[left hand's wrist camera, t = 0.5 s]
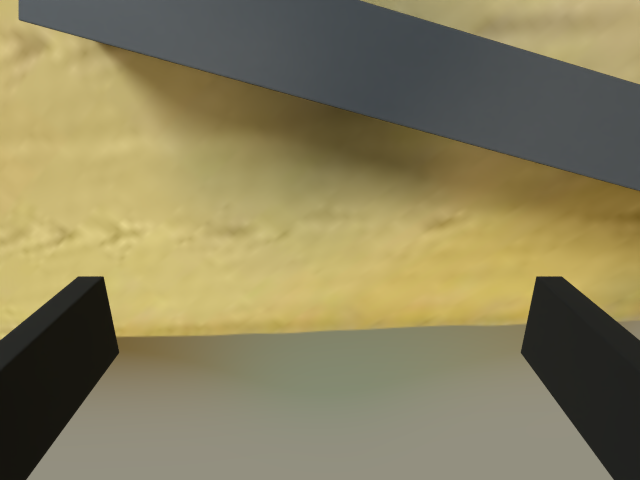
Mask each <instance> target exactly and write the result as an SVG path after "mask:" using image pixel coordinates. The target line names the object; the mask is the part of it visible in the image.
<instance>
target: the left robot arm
mask: <svg viewBox="0 0 640 480" xmlns="http://www.w3.org/2000/svg"><path fill="white" fill-rule="evenodd" d="M118 354H119V349H118V345H117V340H116V335H115V330H114V325H113V320H112V315H111V311H110V306H109V301H108V296H107V291H106V286H105V281H104V277H77V278H76V279H75V280H73V281H72V282H71V283H70V284H69V285H67V286H66V287H65V288H64V289H62V290H61V291H60V292H59V293H58V294H56V295H55V296H54V297H53V298H52V299H50V300H49V301H48V302H47V303H45V304H44V305H43V306H42V307H41V308H39V309H38V310H37V311H36V312H34V313H33V314H32V315H31V316H30V317H28V318H27V319H26V320H25V321H23V322H22V323H21V324H20V325H19V326H17V327H16V328H15V329H14V330H12V331H11V332H10V333H9V334H8V335H6V336H5V337H4V338H3V339H1V340H0V480H26V479H27V478H28V476H29V475H30V474H31V472H32V471H33V470H34V468H35V467H36V466H37V464H38V463H39V461H40V460H41V459H42V457H43V456H44V455H45V453H46V452H47V450H48V449H49V448H50V446H51V445H52V444H53V442H54V441H55V440H56V438H57V437H58V436H59V434H60V433H61V431H62V430H63V429H64V427H65V426H66V425H67V423H68V422H69V420H70V419H71V418H72V416H73V415H74V414H75V412H76V411H77V410H78V408H79V407H80V405H81V404H82V403H83V401H84V400H85V399H86V397H87V396H88V394H89V393H90V392H91V390H92V389H93V388H94V386H95V385H96V384H97V382H98V381H99V380H100V378H101V377H102V375H103V374H104V373H105V371H106V370H107V369H108V367H109V366H110V364H111V363H112V362H113V360H114V359H115V358H116V356H117V355H118ZM521 354H522V355H523V356H524V358H525V359H526V360H527V362H528V363H529V364H530V366H531V367H532V369H533V370H534V371H535V373H536V374H537V375H538V377H539V378H540V380H541V381H542V382H543V384H544V385H545V386H546V388H547V389H548V390H549V392H550V393H551V395H552V396H553V397H554V399H555V400H556V401H557V403H558V404H559V405H560V407H561V408H562V410H563V411H564V412H565V414H566V415H567V416H568V418H569V419H570V420H571V422H572V423H573V425H574V426H575V427H576V429H577V430H578V431H579V433H580V434H581V436H582V437H583V438H584V440H585V441H586V442H587V444H588V445H589V446H590V448H591V449H592V451H593V452H594V453H595V455H596V456H597V457H598V459H599V460H600V461H601V463H602V464H603V466H604V467H605V468H606V470H607V471H608V472H609V474H610V475H611V476H612V478H613V479H614V480H640V340H638V339H637V338H636V337H635V336H634V335H632V334H631V333H630V332H629V331H628V330H626V329H625V328H624V327H623V326H621V325H620V324H619V323H618V322H617V321H615V320H614V319H613V318H612V317H610V316H609V315H608V314H607V313H606V312H604V311H603V310H602V309H601V308H599V307H598V306H597V305H596V304H595V303H593V302H592V301H591V300H590V299H588V298H587V297H586V296H585V295H584V294H582V293H581V292H580V291H579V290H578V289H576V288H575V287H574V286H573V285H571V284H570V283H569V282H568V281H567V280H565V279H564V278H563V277H536V281H535V286H534V291H533V296H532V301H531V306H530V311H529V315H528V320H527V325H526V330H525V335H524V340H523V345H522V349H521Z"/></svg>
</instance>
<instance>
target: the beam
mask: <svg viewBox="0 0 640 480" xmlns="http://www.w3.org/2000/svg"><path fill="white" fill-rule="evenodd" d="M19 20H21V21H24V22H28V23H31V24H35V25H39V26H42V27H46V28H50V29H53V30H57V31H60V32H64V33H68V34H71V35H75V36H79V37H82V38H86V39H90V40H93V41H97V42H100V43H104V44H108V45H111V46H115V47H119V48H122V49H126V50H129V51H133V52H137V53H140V54H144V55H148V56H151V57H155V58H159V59H162V60H166V61H169V62H173V63H177V64H180V65H184V66H188V67H191V68H195V69H199V70H202V71H206V72H209V73H213V74H217V75H220V76H224V77H228V78H231V79H235V80H238V81H242V82H246V83H249V84H253V85H257V86H260V87H264V88H268V89H271V90H275V91H278V92H282V93H286V94H289V95H293V96H297V97H300V98H304V99H307V100H311V101H315V102H318V103H322V104H326V105H329V106H333V107H337V108H340V109H344V110H347V111H351V112H355V113H358V114H362V115H366V116H369V117H373V118H377V119H380V120H384V121H387V122H391V123H395V124H398V125H402V126H406V127H409V128H413V129H416V130H420V131H424V132H427V133H431V134H435V135H438V136H442V137H446V138H449V139H453V140H456V141H460V142H464V143H467V144H471V145H475V146H478V147H482V148H485V149H489V150H493V151H496V152H500V153H504V154H507V155H511V156H515V157H518V158H522V159H525V160H529V161H533V162H536V163H540V164H544V165H547V166H551V167H555V168H558V169H562V170H565V171H569V172H573V173H576V174H580V175H584V176H587V177H591V178H594V179H598V180H602V181H605V182H609V183H613V184H616V185H620V186H624V187H627V188H631V189H634V190H638V191H640V85H639V84H636V83H633V82H629V81H626V80H623V79H619V78H616V77H613V76H609V75H606V74H603V73H599V72H596V71H593V70H589V69H586V68H583V67H579V66H576V65H573V64H569V63H566V62H563V61H560V60H556V59H553V58H550V57H546V56H543V55H540V54H536V53H533V52H530V51H526V50H523V49H520V48H516V47H513V46H510V45H506V44H503V43H500V42H496V41H493V40H490V39H486V38H483V37H480V36H476V35H473V34H470V33H466V32H463V31H460V30H456V29H453V28H450V27H446V26H443V25H440V24H436V23H433V22H430V21H426V20H423V19H420V18H417V17H413V16H410V15H407V14H403V13H400V12H397V11H393V10H390V9H387V8H383V7H380V6H377V5H373V4H370V3H367V2H363V1H360V0H19Z"/></svg>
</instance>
